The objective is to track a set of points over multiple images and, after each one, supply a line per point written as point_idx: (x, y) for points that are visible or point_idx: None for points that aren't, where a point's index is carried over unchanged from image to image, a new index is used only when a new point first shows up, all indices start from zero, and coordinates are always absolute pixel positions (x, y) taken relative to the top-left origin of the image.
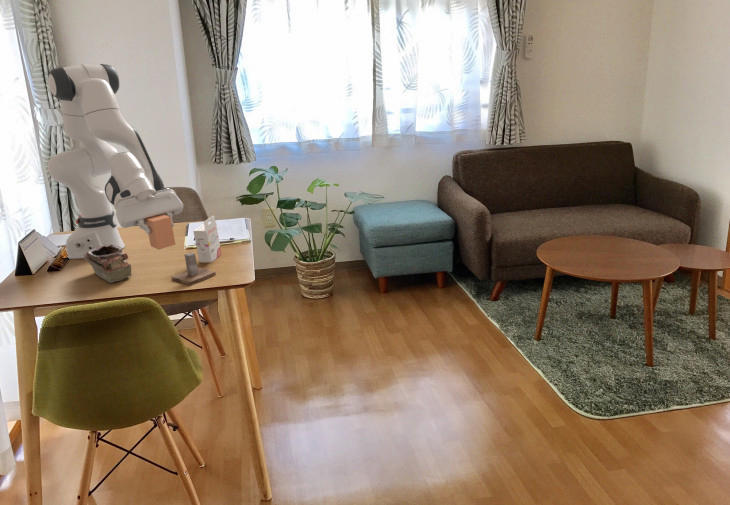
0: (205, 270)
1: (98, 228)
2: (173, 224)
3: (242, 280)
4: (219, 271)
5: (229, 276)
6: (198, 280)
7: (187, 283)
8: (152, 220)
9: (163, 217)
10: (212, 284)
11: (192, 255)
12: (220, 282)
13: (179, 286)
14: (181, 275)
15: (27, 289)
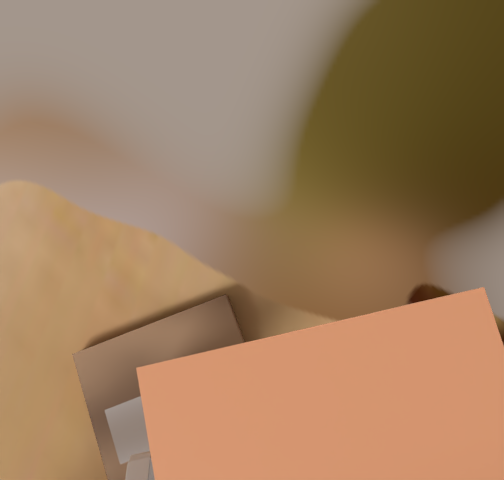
0: (104, 415)
1: None
2: (136, 454)
3: (14, 190)
4: (47, 389)
5: (37, 281)
6: (177, 314)
7: (234, 316)
8: (484, 374)
9: (251, 434)
10: (137, 234)
11: (128, 401)
12: (99, 234)
13: (276, 319)
14: None
15: None
